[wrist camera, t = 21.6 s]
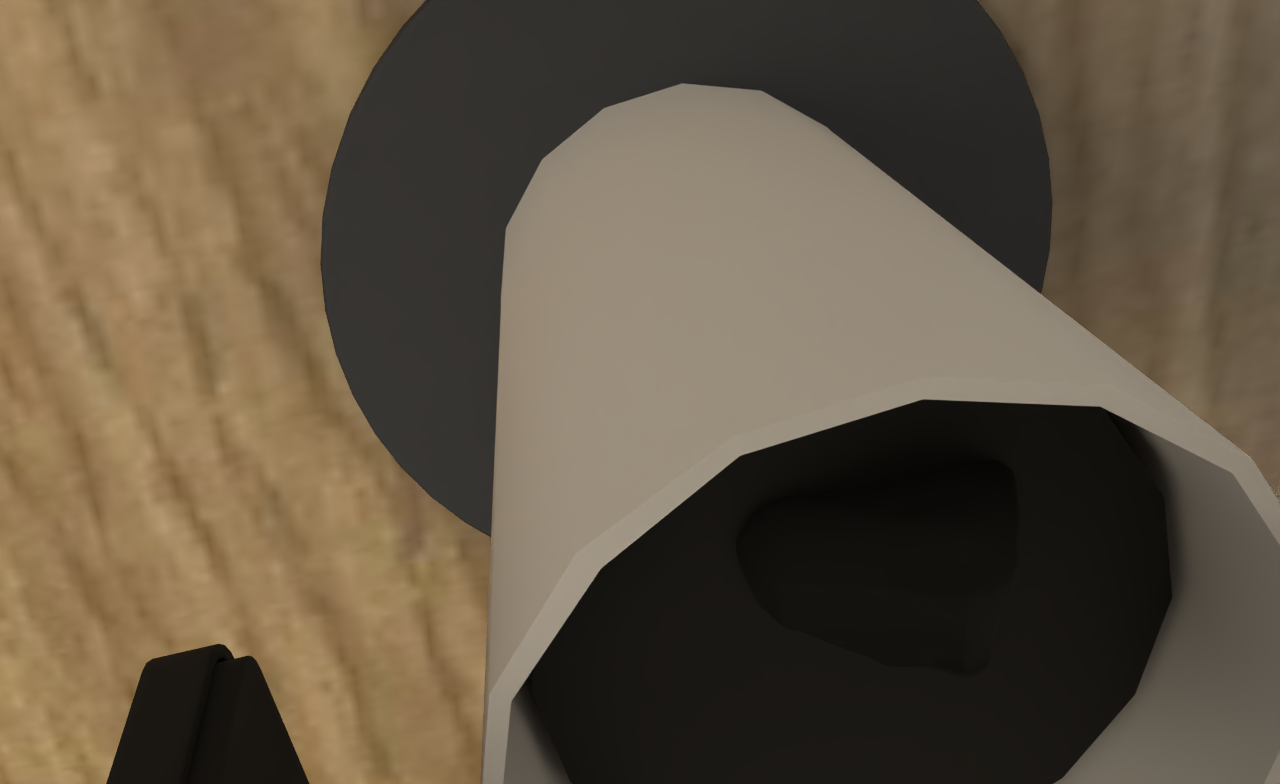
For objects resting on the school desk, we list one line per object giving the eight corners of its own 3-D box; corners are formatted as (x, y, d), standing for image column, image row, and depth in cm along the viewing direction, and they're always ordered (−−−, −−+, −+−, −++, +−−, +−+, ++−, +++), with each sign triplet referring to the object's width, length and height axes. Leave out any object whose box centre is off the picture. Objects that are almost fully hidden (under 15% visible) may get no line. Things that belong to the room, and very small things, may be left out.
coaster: (217, -31, 16) (211, -27, 15) (1037, -195, 16) (1050, -194, 16) (429, 627, 21) (429, 641, 21) (1046, 491, 21) (1056, 503, 21)
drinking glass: (435, 77, 16) (403, 445, 8) (917, 25, 17) (1415, 311, 8) (500, 495, 19) (532, 1100, 11) (904, 440, 20) (1255, 974, 11)
